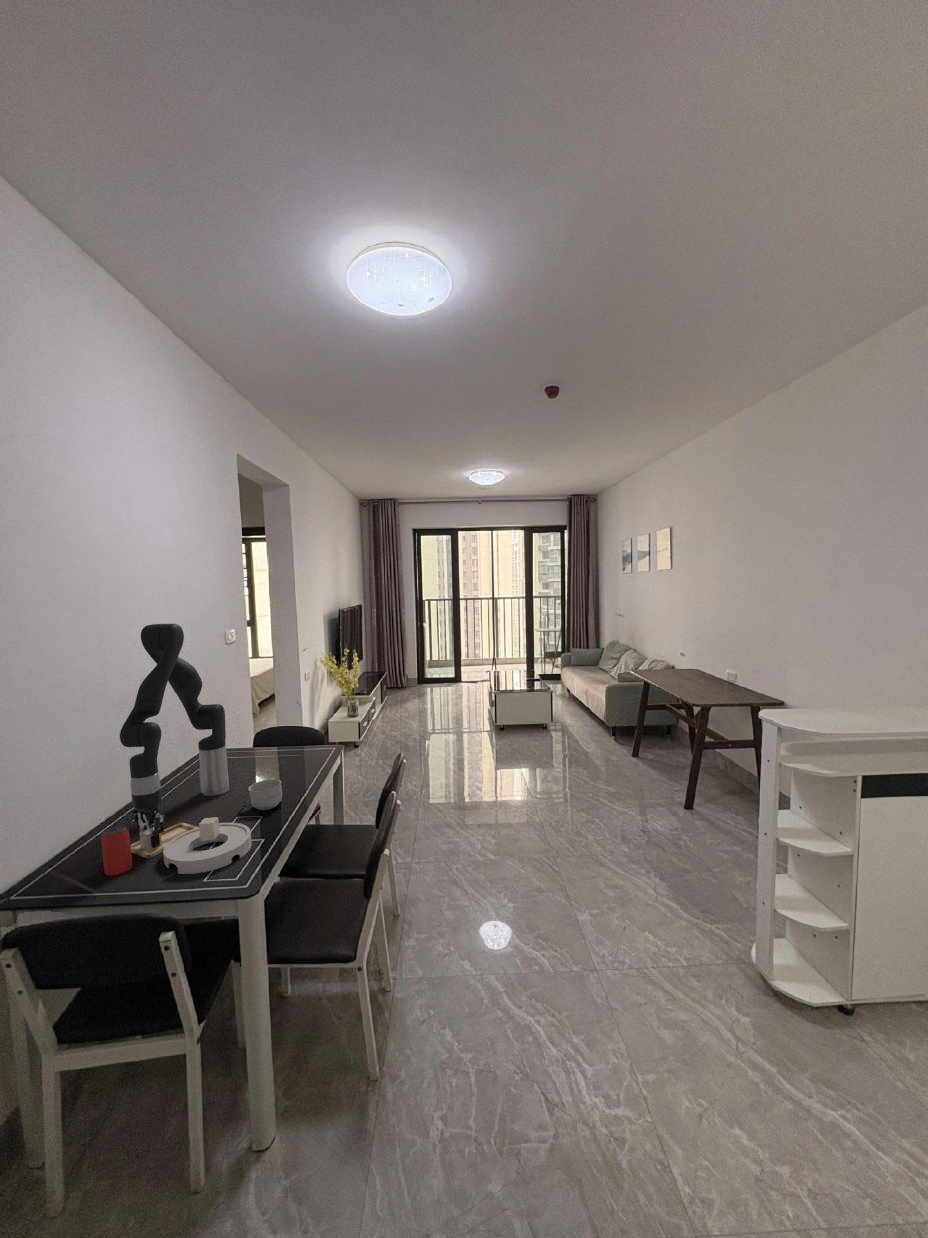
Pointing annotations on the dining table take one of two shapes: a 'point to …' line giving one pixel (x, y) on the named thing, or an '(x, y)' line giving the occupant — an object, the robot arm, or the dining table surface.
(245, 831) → the ashtray
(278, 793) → the teacup
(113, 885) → the dining table surface
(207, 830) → the stone block
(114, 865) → the beer can
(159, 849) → the tray
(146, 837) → the stone block
